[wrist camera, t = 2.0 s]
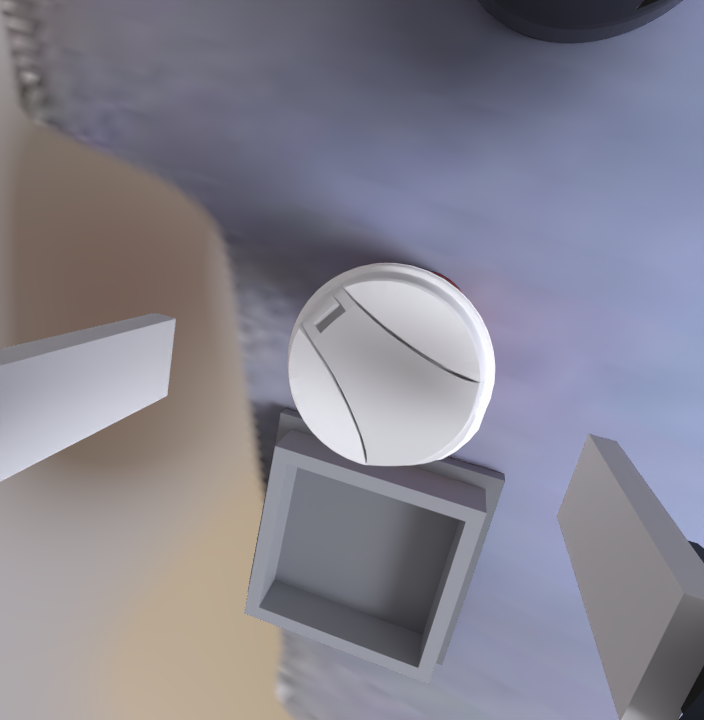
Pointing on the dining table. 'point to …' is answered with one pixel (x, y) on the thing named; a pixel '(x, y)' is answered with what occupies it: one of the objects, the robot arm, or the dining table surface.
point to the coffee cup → (391, 365)
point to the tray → (368, 550)
